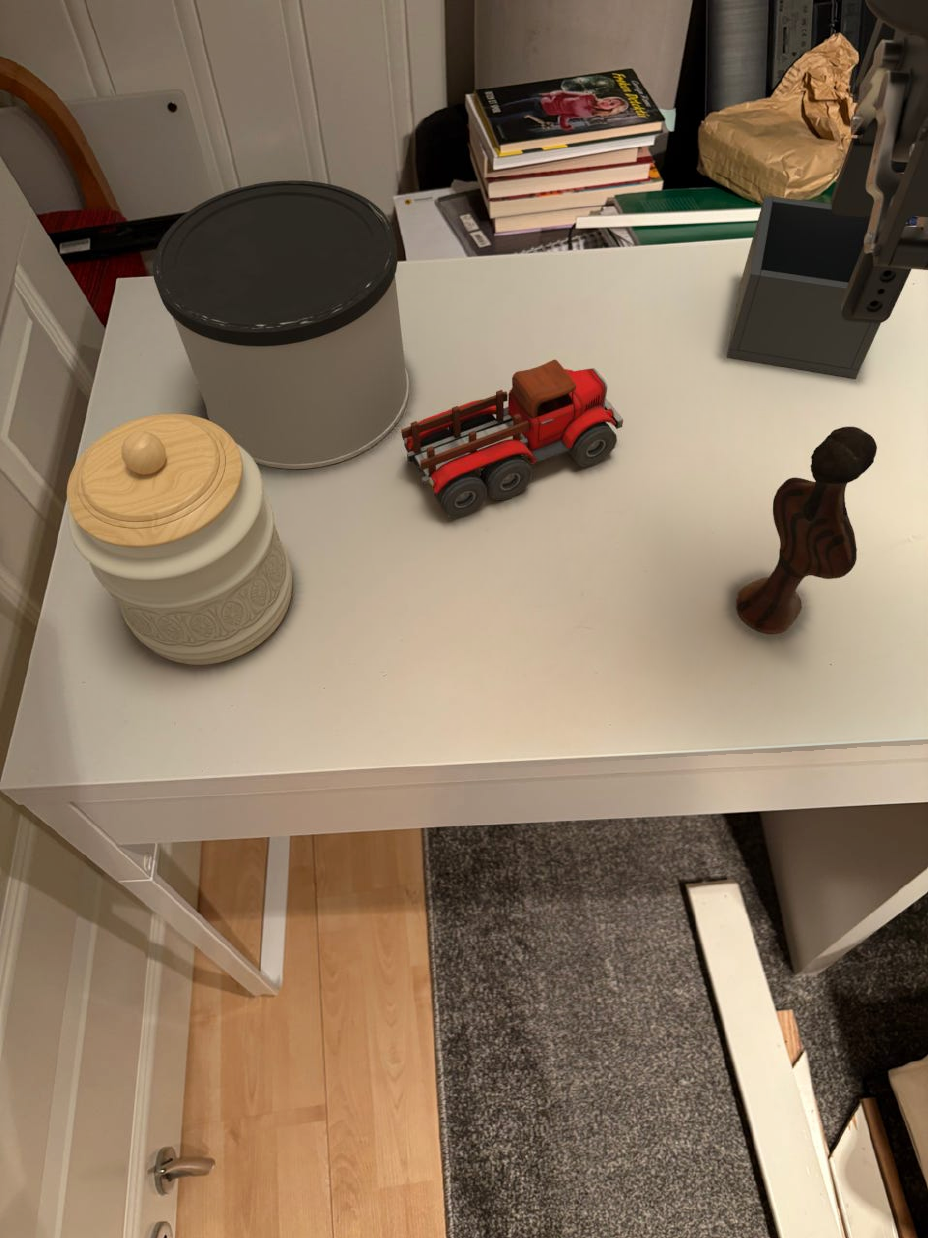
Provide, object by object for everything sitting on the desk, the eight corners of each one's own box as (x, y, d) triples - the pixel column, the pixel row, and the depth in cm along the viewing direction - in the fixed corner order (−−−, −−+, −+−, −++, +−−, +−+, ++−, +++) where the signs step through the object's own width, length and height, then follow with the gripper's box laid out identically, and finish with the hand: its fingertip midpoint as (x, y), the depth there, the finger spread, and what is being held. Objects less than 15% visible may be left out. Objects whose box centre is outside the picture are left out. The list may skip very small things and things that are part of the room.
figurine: (830, 632, 66) (932, 469, 51) (777, 661, 65) (865, 503, 50) (766, 562, 70) (843, 391, 54) (715, 589, 68) (779, 420, 53)
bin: (861, 297, 86) (897, 212, 78) (855, 378, 80) (893, 295, 73) (741, 279, 88) (764, 194, 80) (726, 357, 82) (750, 273, 75)
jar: (119, 676, 66) (9, 529, 51) (140, 538, 73) (48, 372, 58) (293, 662, 66) (235, 511, 51) (298, 525, 73) (247, 358, 58)
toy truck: (625, 452, 76) (638, 380, 69) (436, 528, 72) (430, 459, 65) (579, 395, 80) (588, 321, 73) (397, 463, 76) (388, 392, 69)
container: (180, 463, 77) (118, 322, 64) (234, 320, 87) (190, 173, 74) (393, 478, 75) (373, 336, 63) (424, 330, 85) (412, 182, 73)
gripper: (1186, -52, 27) (951, 365, 40) (1088, -214, 34) (918, 185, 48) (926, -62, 27) (782, 351, 41) (886, -218, 35) (776, 176, 49)
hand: (855, 261), depth 44 cm, fingers open, 8 cm apart
